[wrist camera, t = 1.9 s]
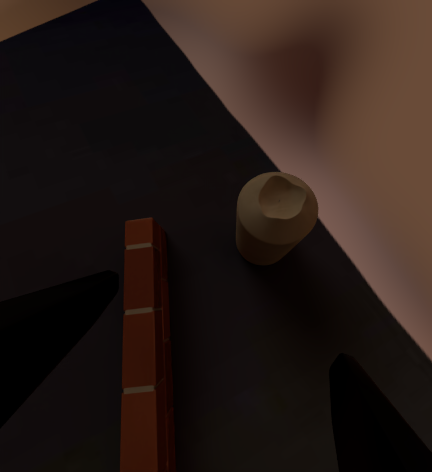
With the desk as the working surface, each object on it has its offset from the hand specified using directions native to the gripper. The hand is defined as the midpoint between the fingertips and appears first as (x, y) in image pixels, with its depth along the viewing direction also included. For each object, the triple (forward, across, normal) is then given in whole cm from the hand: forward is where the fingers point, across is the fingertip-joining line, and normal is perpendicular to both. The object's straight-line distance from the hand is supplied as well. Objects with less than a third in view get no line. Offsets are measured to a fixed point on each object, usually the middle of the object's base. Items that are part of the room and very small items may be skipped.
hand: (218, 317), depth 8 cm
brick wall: (+7, +5, +13) cm, 15 cm away
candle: (+15, -2, +3) cm, 16 cm away
